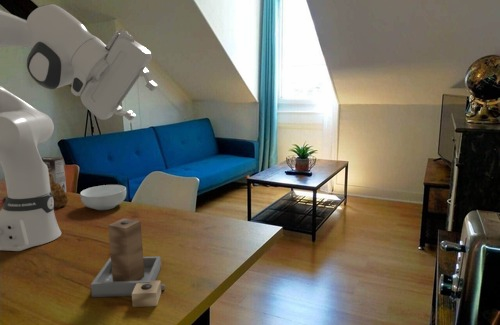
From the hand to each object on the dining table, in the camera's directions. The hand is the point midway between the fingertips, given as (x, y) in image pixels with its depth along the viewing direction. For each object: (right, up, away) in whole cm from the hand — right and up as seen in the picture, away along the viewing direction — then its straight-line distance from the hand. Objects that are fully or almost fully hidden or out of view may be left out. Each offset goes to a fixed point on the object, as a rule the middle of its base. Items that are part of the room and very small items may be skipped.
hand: (143, 103), depth 82 cm
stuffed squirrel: (-54, -31, +58) cm, 85 cm away
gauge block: (+3, -43, -6) cm, 44 cm away
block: (-4, -41, +2) cm, 42 cm away
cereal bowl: (-32, -32, +57) cm, 73 cm away
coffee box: (-64, -28, +77) cm, 104 cm away
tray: (-4, -42, +2) cm, 42 cm away
